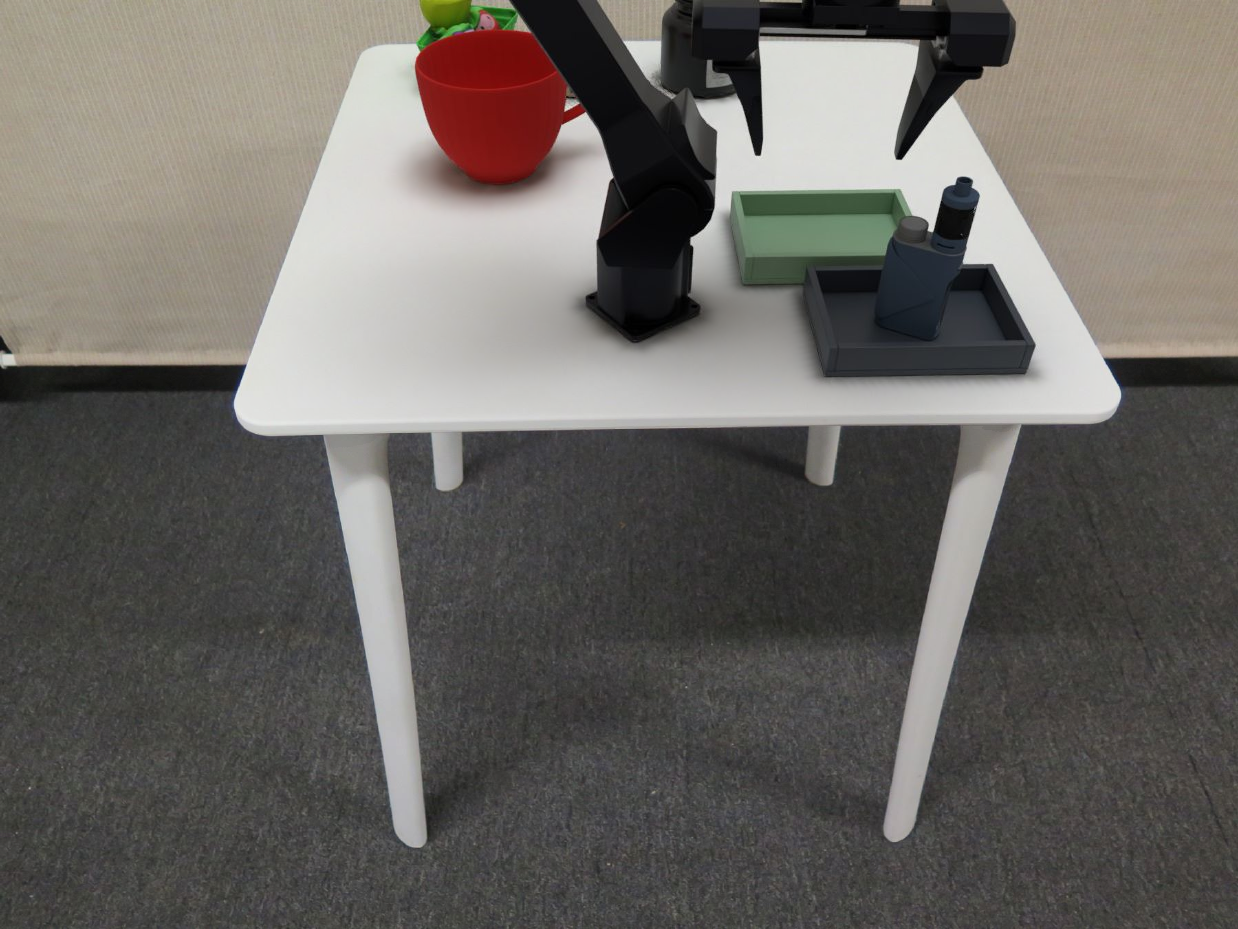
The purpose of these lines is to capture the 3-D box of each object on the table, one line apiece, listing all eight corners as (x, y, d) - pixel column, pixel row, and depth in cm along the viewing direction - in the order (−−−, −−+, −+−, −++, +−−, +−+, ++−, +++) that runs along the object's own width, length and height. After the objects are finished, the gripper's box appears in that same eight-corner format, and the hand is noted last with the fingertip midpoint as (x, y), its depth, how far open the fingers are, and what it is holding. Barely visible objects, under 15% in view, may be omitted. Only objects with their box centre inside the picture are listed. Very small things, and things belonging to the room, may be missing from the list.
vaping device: (937, 345, 73) (979, 193, 64) (867, 324, 74) (898, 173, 66) (947, 326, 74) (989, 176, 66) (878, 306, 76) (910, 157, 68)
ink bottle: (729, 106, 102) (739, -19, 94) (646, 93, 104) (649, -31, 96) (755, 69, 109) (766, -51, 100) (677, 57, 111) (681, -61, 103)
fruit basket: (490, 100, 103) (479, -16, 95) (409, 92, 105) (391, -24, 97) (524, 57, 111) (516, -54, 103) (447, 49, 113) (434, -60, 105)
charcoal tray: (824, 376, 71) (829, 348, 69) (802, 293, 78) (806, 265, 76) (1026, 373, 71) (1036, 344, 69) (984, 291, 78) (993, 263, 77)
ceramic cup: (631, 180, 91) (632, 69, 84) (447, 213, 87) (432, 99, 80) (585, 119, 100) (583, 15, 93) (416, 147, 96) (400, 40, 89)
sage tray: (743, 284, 79) (745, 256, 77) (729, 217, 86) (731, 190, 85) (923, 282, 79) (930, 254, 78) (895, 215, 87) (900, 188, 85)
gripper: (1007, -143, 62) (949, 105, 72) (699, -148, 62) (688, 99, 73) (1051, -89, 53) (979, 182, 64) (698, -95, 54) (685, 173, 65)
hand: (827, 155), depth 67 cm, fingers open, 9 cm apart
